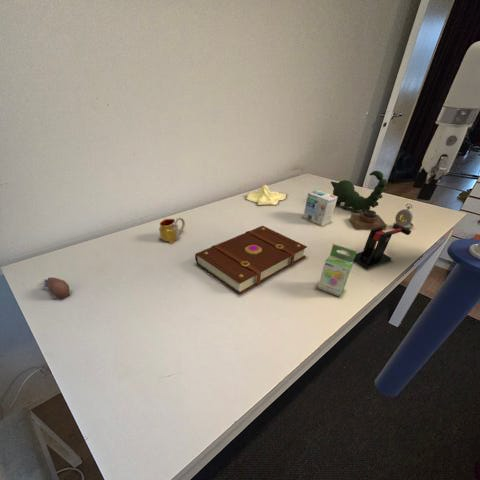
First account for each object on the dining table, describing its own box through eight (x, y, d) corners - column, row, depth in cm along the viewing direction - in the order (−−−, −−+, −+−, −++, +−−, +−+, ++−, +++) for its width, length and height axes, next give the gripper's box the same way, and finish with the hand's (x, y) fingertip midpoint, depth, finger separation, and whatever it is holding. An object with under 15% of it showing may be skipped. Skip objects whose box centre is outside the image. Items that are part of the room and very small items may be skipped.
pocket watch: (412, 224, 114) (424, 200, 107) (412, 232, 109) (425, 208, 101) (392, 220, 116) (402, 197, 109) (391, 228, 111) (402, 204, 104)
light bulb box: (302, 217, 117) (307, 192, 109) (312, 214, 120) (317, 189, 112) (321, 226, 111) (328, 200, 103) (331, 222, 114) (338, 196, 107)
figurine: (42, 291, 79) (58, 303, 73) (32, 276, 76) (47, 287, 70) (60, 283, 82) (77, 293, 76) (51, 268, 79) (68, 278, 73)
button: (372, 214, 112) (374, 210, 111) (375, 218, 109) (377, 214, 108) (363, 214, 112) (364, 210, 111) (366, 218, 109) (367, 213, 108)
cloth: (265, 208, 123) (267, 195, 119) (238, 197, 132) (238, 184, 128) (294, 197, 134) (296, 184, 130) (267, 188, 144) (268, 175, 139)
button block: (376, 219, 117) (380, 210, 114) (384, 230, 110) (388, 220, 107) (349, 219, 117) (352, 210, 114) (356, 229, 110) (359, 219, 107)
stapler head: (394, 228, 93) (397, 222, 91) (409, 235, 89) (412, 229, 88) (368, 236, 89) (371, 229, 87) (382, 244, 85) (385, 237, 83)
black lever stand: (372, 250, 97) (384, 222, 90) (390, 261, 92) (404, 232, 85) (349, 258, 93) (359, 229, 85) (366, 269, 88) (379, 240, 81)
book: (305, 257, 93) (308, 245, 89) (240, 295, 77) (241, 281, 74) (259, 234, 104) (260, 222, 101) (195, 263, 89) (193, 250, 85)
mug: (170, 244, 98) (166, 227, 93) (157, 239, 100) (153, 222, 96) (192, 233, 104) (190, 216, 100) (180, 228, 107) (177, 212, 103)
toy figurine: (374, 216, 123) (330, 196, 134) (396, 173, 109) (344, 155, 120) (365, 222, 118) (320, 201, 129) (386, 178, 104) (333, 158, 115)
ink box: (316, 288, 80) (328, 249, 71) (321, 282, 83) (333, 243, 73) (339, 297, 78) (353, 257, 68) (343, 290, 80) (358, 251, 70)
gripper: (486, 123, 55) (441, 206, 67) (465, 113, 67) (430, 185, 79) (446, 121, 57) (409, 202, 69) (432, 111, 68) (403, 182, 80)
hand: (420, 193), depth 74 cm, fingers open, 9 cm apart
